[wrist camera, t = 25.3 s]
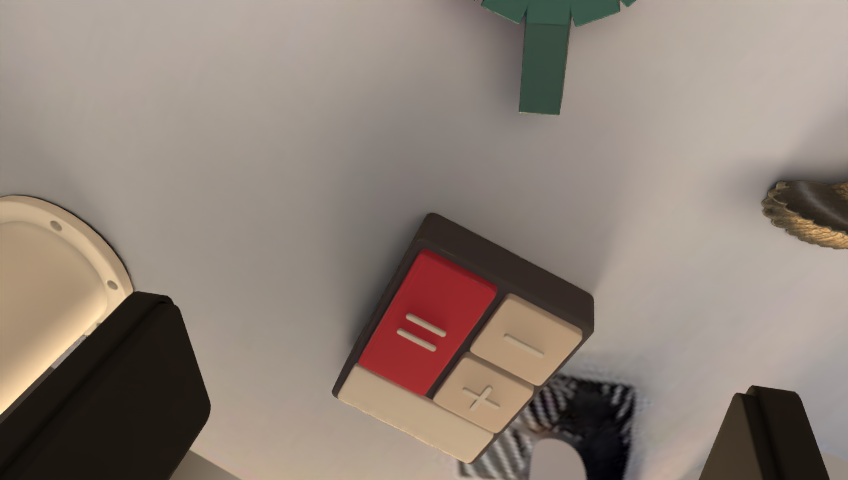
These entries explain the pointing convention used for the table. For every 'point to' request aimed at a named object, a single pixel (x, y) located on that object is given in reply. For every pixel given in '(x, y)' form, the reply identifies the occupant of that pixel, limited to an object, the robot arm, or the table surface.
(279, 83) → the table surface
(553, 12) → the teal ring
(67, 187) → the table surface
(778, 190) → the eagle figurine
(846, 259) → the table surface
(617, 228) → the table surface
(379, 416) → the calculator
